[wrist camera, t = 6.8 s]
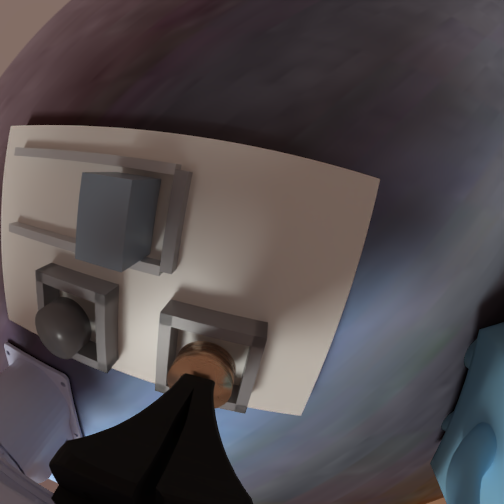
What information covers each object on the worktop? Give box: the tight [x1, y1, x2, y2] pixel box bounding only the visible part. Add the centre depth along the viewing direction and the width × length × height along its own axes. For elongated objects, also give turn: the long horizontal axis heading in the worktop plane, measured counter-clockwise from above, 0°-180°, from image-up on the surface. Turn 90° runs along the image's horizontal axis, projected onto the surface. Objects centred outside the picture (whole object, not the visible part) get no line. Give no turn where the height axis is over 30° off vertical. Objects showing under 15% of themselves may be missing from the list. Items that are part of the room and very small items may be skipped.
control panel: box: [1, 125, 380, 416], centre depth 14 cm, size 14×22×3 cm, turn 78°
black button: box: [35, 297, 92, 359], centre depth 13 cm, size 3×3×2 cm
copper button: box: [167, 341, 236, 408], centre depth 13 cm, size 3×3×2 cm
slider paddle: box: [75, 172, 161, 272], centre depth 12 cm, size 4×2×3 cm, turn 168°
